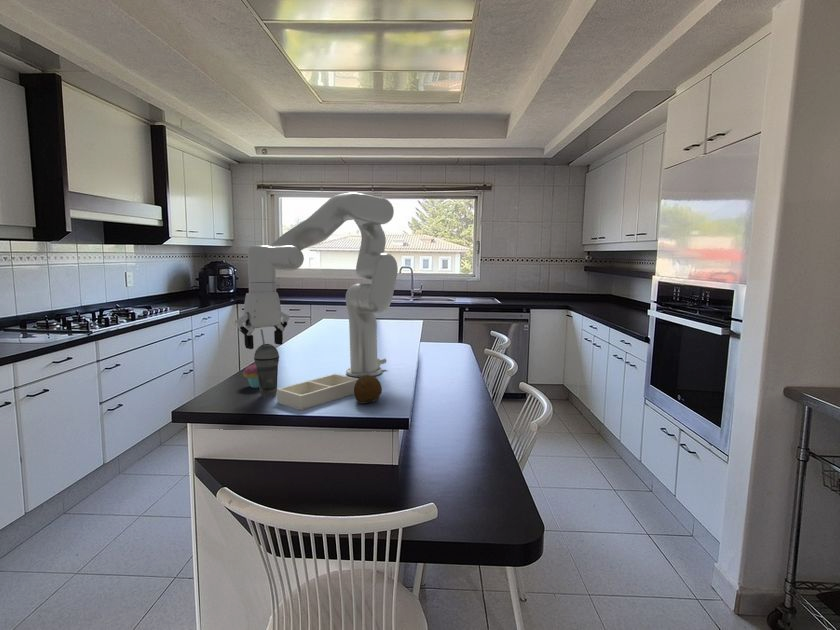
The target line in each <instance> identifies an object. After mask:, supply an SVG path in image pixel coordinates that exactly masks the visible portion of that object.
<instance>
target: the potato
mask: <svg viewBox="0 0 840 630" xmlns="http://www.w3.org/2000/svg"><path fill="white" fill-rule="evenodd" d="M357 379H358V380H357V382H356V384H355V387H354V394H353V395H354V398H355V401H356V402H357V403H360V404H367V403H368V404H369V403H372V402H374V401H376V400H378V399H379V397H380V396H381V394H382V391H383V388H382V387H383V386H382V385H381V382H380V381H379V379H378V378H377V377H376V376H369V375H366V376H362V377H358V378H357Z"/></svg>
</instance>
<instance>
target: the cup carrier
mask: <svg viewBox="0 0 840 630" xmlns="http://www.w3.org/2000/svg"><path fill="white" fill-rule="evenodd" d="M358 379H359V378H358V377H353V376H349V375H342V374H337V373H332V374H329V375H326V376H322V377H318V378H315V379H314V378H313V379H310V380H306V381H303V382H302V381H301V382H298V383H295V384H290V385H287V386H283V387H280V388H277V395H276V403H277V404H280V405H283V406H286V407H289V406H290V407H289V408H292V407H293V408H292V409H296V410H299V411H305V410H308V409H310V408H314V407H317V406H321V405H323V404H326V402H327V403H330V402H333V401H336V400H339V399H342V398H345V397H344V396H346V397H348V395H349V396H351V394H352V395H354V387H355V384H356V382H357V380H358Z"/></svg>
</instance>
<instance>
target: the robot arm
mask: <svg viewBox="0 0 840 630" xmlns="http://www.w3.org/2000/svg"><path fill="white" fill-rule="evenodd" d="M394 213H395V211H394V206H393V204H392V203H391V201H390V200H388V199H386V198H384V197H382V196H381V197H380V196H375V195H369V194H365V193H360V192H353V191H352V192H345V193H340V194H339V193H338V194H336V195H333V196H331V198H329V199H328V200H327V201H325V203H324V204H322V205H321V206H320V207H319V208H317V210H316V211H314V213H312V214H311V215H310V216H308V217H307V218H306V219H304V220H303V221H302V222H300V223H299V224H297V225H296V226H294V227H292V228H290V229H289V230H287V231H285V233H283V234H281V236H279V237H278V238H277V239H276V240H274V241H273V242H272V243H271V244H270V245H263V244H262V245H261V244H260V245H259V244H257V245H251V246H249V247H248V248H247V269H248V271H247V273H248V276H247V277H248V293H247V292H246V294H245V296H244V297H245V298H244V303H243V315H242V316H240V317H239V318H238V319H236V320H235V321H234V323H235V325H236V327H237V329H238V331H239V332H241V333H242V335H243V337H244V338H243V339H244V346H245V348H246V349H247V350H253V349H254V334H253V332H254V331H255V329H261V328H262V329H263V328H269V327H270V328H271V327H273V328H274V329H275V330H274V331H273V332H274V333H273V334H274V335H273V337H274V339H273V340H274V344H275V345H283V340H284V338H283V333H284V331H285V328H286V327H287V326H288V323H289V320H290V315H289V314H286V313H284V312H283V311H282V308H281V301H280V300H281V299H280V297H279V294H278V292H277V289H279V288H280V284H279V283H277V277H276V276H277V275H276V271H286V272H288V271H289V272H290V271H296V270H298V269H299V268H301V267H302V265H303V263H304V260H305V258H304V253H303V250H305V249H307V248H309V247H312V246H316V245H317V244H320V243H322V242H324V241H326V240H327V239H329V237H330V236H331V235H333V234H334V233H335V232H336V231H337V230H338V229H339V228H340V227H341V226H342V225H343V224H344V223H345V222H347V221H354V223H355V225H357V227H358V229H359V231H360V234H361V235H360V236H361V241H360V247H359V252H358V256H357V260H356V267H355V274H356V275H357V277H358V278H359V279H361V280H363V281H371V283H362V282H361V283H359V282H358V283H354V284H353V285H351V286H350V287H349V288H348V289H347V290H346V293H345V305H346V309H347V313H348V324H349V328H348V329H349V351H350V352H349V355H350V356H349V357H350V361H349V363H350V367H349V368H347V369H346V376H348V377H352V378H360V377H362V376H366V375H369V376H374V377H376V376H379V375H381V374H382V373H383V368H382V367H380V366H381V365H384V364H387V359H386V357H384V358H378V331H377V330H378V323H377V318H376V315H375V313H377V314H379V313H380V314H381V313H384V312H386V311H387V310H388V309H389V308H390V305H391V303H392V301H393V300H392V299H393V298H394V297H393V296H394V291H395V287H396V283H397V277H398V270H399V269H398V263H397V260H396V258H395V257H394V256H393V255H392V254H390V253H386V252H385V251H386V250H385V249H386V243H387V242H386V241H387V238H386V234H385V232H384V229H383V227H382V225H387V224H388V223H390V221H392V219H393V217H394ZM252 334H253V335H252Z"/></svg>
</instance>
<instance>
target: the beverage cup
mask: <svg viewBox="0 0 840 630" xmlns="http://www.w3.org/2000/svg"><path fill="white" fill-rule="evenodd" d="M263 331H264V330H263V328H262V329H261V328H260V335H261V340H262V344H260V346H258V347H257V348H256V350H255V351H254V356H253V361H254V364H255V365H256V368H257V375H258V382H259V392H260V397H261V398H265V397H267V398H273V397H277V389H278V374H279V370H278V369H279V368H278V367H279V366H278V365H279V361H280V355H279V354H280V353H279V351H278V349H277V348H276V346H274V345H272V344H270V343H265V336H264V332H263Z"/></svg>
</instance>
